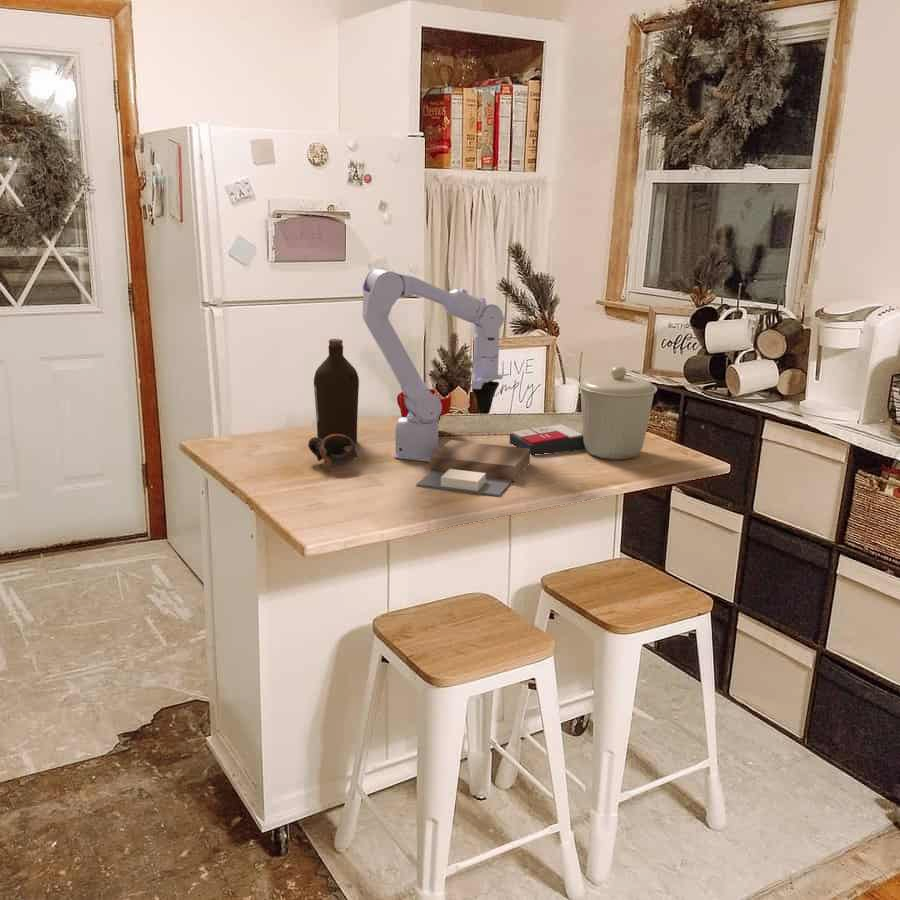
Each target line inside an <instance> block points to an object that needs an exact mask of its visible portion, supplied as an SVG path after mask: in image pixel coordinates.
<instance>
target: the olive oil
mask: <svg viewBox="0 0 900 900" xmlns="http://www.w3.org/2000/svg"><path fill="white" fill-rule="evenodd" d="M343 343H344V342H343V339H339V338H330V339H329V340H328V344H329V345H328V356H327V357H326V359H325V360H324V361H323V362H322V363H321V364H320V365H319V366H318V368H316V371H315V372H314V377H313V389H314V390H313V391H314V402H315V403H314V404H315V417H316V433H317V438H320V439H322V440H323V439H324V438H325V437H327V436H329V435H332V434H342V435H345V436H348V437H350V438H351V439H352V440H353V441H354V445H356V444H357V442H358V411H359V407H358V406H359V388H360V387H359V386H360V378H359V375H358V372H357V370H356V368H355V367H354V366H353V365H352V364H351V363H350V361H348V359H346V357H345V356H344V345H343ZM326 444H328V442H326ZM348 447H351V445H350V443H348V444H346V445H345V448H348Z"/></svg>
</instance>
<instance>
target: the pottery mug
mask: <svg viewBox="0 0 900 900" xmlns="http://www.w3.org/2000/svg"><path fill="white" fill-rule="evenodd" d="M326 442H328V444H326ZM348 443H350V445H351V446H350V449H349V451H348V450H347V449H345V448H346V447H345V445H346V444H348ZM307 445H308V449H309V450H310V451H311V453H312V454H313V455H314V456H315V457H316V459H317V461H318V462H320V461H321V460H324V462H323V465H322V469H323V470H324V471H326V472H327V473H330V471H331V470H332V469H336V468H337V469H338V468H340V467H341V468H342V467H344V466H348V465H349V463H352V462H353V460H355V458H358V457H359V455H358V452H357V451H356V449H357V446H356V444H354V441H353V440H352V439H351V438H350V437H348V436H345V435H342V434H332V435H329V436H327V437H325V438H324V439H323V440H322V439H320V438H318V436H317V437H316V436H315V437H311V438H310V439H309V440H308V444H307Z"/></svg>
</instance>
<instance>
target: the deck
mask: <svg viewBox="0 0 900 900" xmlns="http://www.w3.org/2000/svg"><path fill="white" fill-rule="evenodd" d="M530 460H531V456H530V449H527V448H518V447H514V446H508V445H499V444H488V443H481V442H471V441H462V440H454V439H450V440H449V441H447V442H446V443H445V444H444V445H442V446H441V447H440V448H438V451H437V452H435V453H434V454H433V455H432V456H430V462H429V463H430V464H429V465H430V466H429V467H430V468H429V469H430V472H431V471H439V472H447V471H448V470H449V469H456V470H464V471H472V472H480V473H486V477H488V478H496V479H504V480H512V481H515V480H516V481H517V480H518V478H519V477H520V476H521V475H522V474H523V472H524V471H525V470H526V469H527V467H529V465H530V464H529V463H531V461H530ZM528 464H529V465H528ZM525 468H526V469H525ZM524 469H525V470H524ZM430 472H429V473H430ZM520 474H521V475H520ZM519 475H520V476H519ZM516 481H515V482H516Z"/></svg>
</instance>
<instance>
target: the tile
mask: <svg viewBox="0 0 900 900" xmlns="http://www.w3.org/2000/svg"><path fill="white" fill-rule="evenodd" d="M485 482H486V473H480V472H472V471H464V470H456V469H449V470H448V471H447V472H446V473H445V474H444V475H443V476H442V477H441V486H443V487H451V488H458V489H466V490H474V491H478V490H479V489H480V488H481V487H482V486H483V485H484V483H485Z"/></svg>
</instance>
